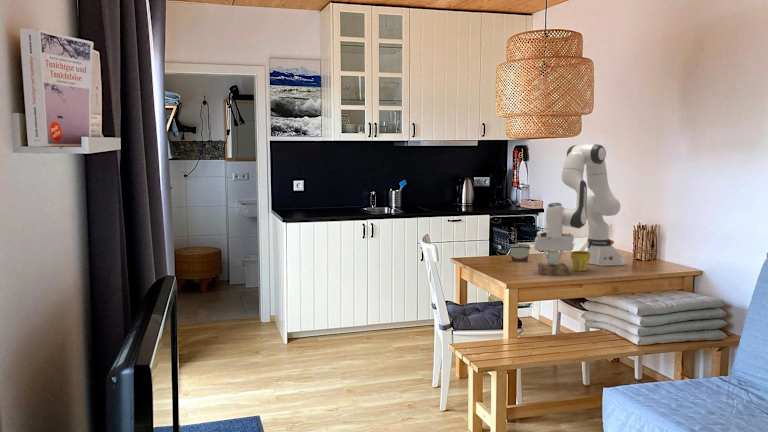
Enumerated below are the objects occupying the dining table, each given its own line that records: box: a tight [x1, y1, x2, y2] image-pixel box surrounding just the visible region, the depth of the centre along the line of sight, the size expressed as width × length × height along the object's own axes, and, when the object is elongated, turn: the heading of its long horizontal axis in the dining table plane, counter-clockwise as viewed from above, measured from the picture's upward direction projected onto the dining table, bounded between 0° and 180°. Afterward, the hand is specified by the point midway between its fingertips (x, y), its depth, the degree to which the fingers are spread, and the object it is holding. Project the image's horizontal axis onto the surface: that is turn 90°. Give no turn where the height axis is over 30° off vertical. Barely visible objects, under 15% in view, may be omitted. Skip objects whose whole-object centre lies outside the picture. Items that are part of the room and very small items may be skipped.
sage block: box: [547, 251, 560, 264], centre depth 349 cm, size 5×5×6 cm
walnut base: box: [537, 262, 569, 277], centre depth 350 cm, size 14×14×4 cm
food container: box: [508, 243, 531, 263], centre depth 382 cm, size 12×6×10 cm, turn 84°
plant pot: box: [570, 250, 590, 272], centre depth 357 cm, size 10×10×10 cm
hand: (553, 258), depth 349 cm, fingers closed on sage block, 5 cm apart
